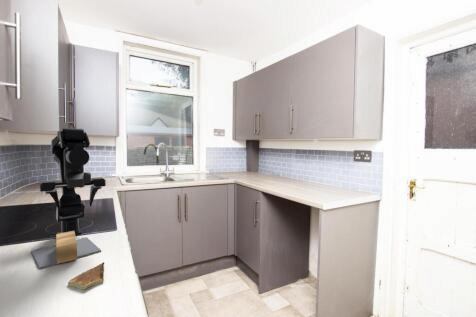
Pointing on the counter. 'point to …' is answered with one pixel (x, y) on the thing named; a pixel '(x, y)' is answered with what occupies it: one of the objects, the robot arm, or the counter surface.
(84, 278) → the shard
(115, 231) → the counter surface
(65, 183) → the robot arm
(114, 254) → the counter surface
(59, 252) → the wood block
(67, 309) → the counter surface
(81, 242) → the slate mat
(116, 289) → the counter surface
